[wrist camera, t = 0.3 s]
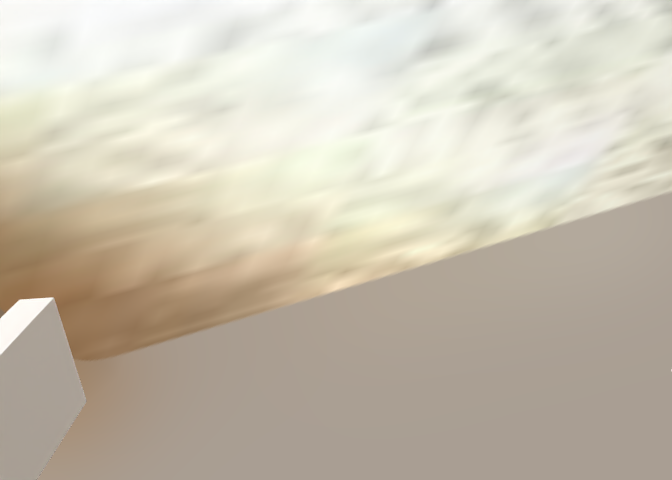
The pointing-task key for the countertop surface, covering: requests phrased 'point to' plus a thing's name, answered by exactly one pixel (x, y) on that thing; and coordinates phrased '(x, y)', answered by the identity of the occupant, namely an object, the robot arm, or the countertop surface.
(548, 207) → the countertop surface
